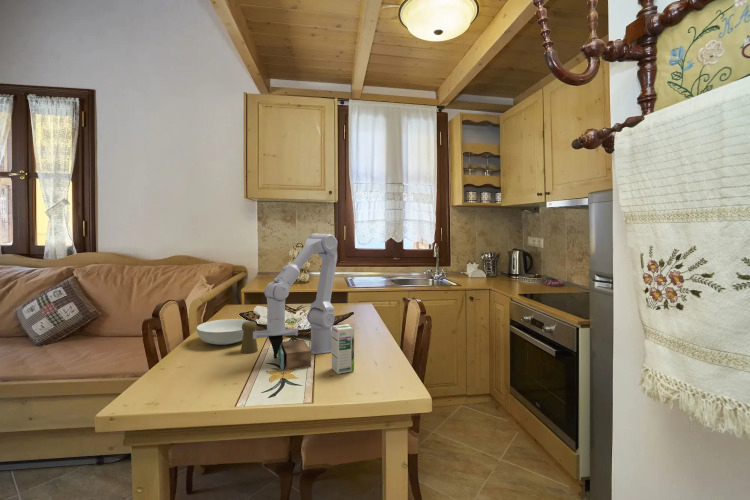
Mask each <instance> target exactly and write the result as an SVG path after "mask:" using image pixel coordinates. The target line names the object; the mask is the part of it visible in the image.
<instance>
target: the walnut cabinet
mask: <svg viewBox="0 0 750 500" xmlns="http://www.w3.org/2000/svg"><path fill="white" fill-rule="evenodd" d="M281 347H282V350H283V353H284V366H285V367H284V368H285V369H286V370H287V371H288V370H295V369H304V368H305V369H306V368H311V367H312V353H311V349H310V348H309V346H308V344H307V342H306V341H305V340H304V339H296V340H286V341H284V340H283V342H282V343H281Z"/></svg>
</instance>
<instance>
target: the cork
mask: <svg viewBox="0 0 750 500" xmlns="http://www.w3.org/2000/svg"><path fill="white" fill-rule="evenodd" d="M247 321H248V322H244V323H243V324H242V330H243V338H242V340H241V348H240V353H241V354H243V355H244V354H245V355H246V354H247V355H248V354H250V355H251V354H255V353H257V352H258V342H257V339H253V332H256V330H257V328H258V327H257V323H256V321H252V320H251V321H250V320H247Z"/></svg>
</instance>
